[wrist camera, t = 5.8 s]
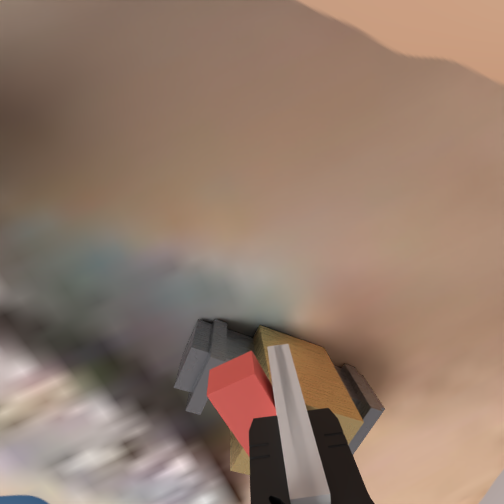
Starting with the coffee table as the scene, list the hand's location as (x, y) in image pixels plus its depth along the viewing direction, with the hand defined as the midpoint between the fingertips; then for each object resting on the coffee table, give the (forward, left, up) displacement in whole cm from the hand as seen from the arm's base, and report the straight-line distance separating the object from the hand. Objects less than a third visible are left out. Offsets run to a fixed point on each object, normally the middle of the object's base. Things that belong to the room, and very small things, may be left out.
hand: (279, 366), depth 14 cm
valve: (+8, -3, -10) cm, 13 cm away
